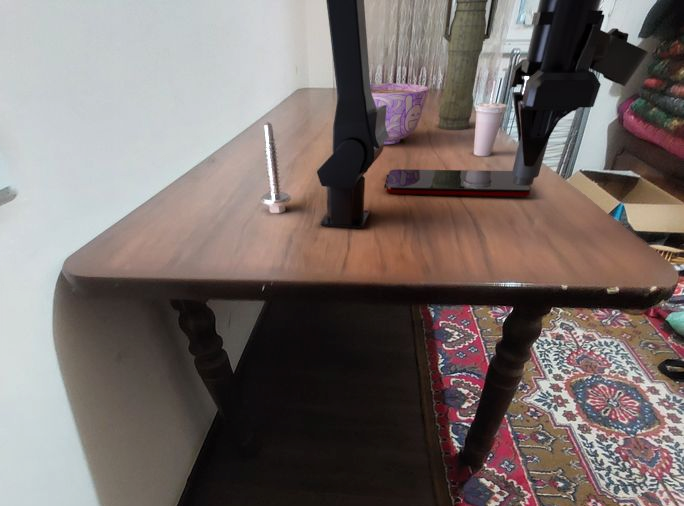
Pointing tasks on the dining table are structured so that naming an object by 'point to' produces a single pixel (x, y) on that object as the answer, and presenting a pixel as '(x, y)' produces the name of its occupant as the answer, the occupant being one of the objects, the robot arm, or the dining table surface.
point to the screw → (273, 175)
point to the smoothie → (487, 125)
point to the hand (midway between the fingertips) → (526, 162)
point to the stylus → (526, 167)
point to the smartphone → (454, 183)
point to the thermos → (463, 59)
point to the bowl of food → (400, 107)
